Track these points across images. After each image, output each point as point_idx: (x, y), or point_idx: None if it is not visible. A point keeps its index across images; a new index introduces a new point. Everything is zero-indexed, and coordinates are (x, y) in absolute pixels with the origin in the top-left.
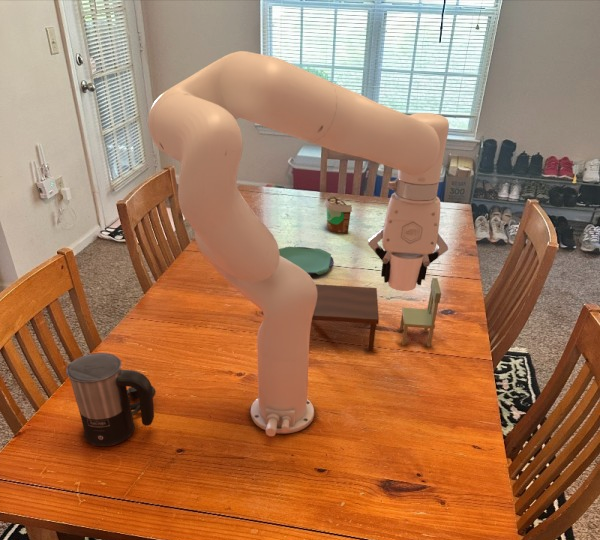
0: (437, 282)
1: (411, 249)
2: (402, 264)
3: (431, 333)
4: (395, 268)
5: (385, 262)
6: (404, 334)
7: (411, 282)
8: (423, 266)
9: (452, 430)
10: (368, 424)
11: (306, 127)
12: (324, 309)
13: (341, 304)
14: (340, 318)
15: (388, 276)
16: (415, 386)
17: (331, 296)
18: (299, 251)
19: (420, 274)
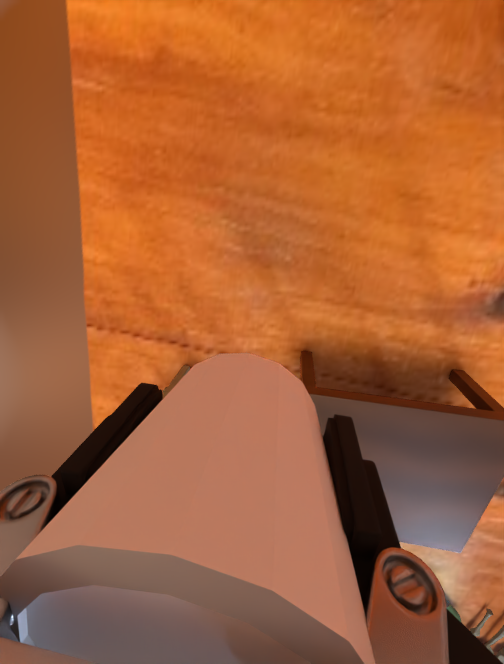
0: None
1: None
2: (246, 494)
3: (175, 381)
4: (307, 475)
5: (393, 561)
6: None
7: (190, 381)
8: (65, 479)
9: (162, 37)
10: (368, 39)
11: None
12: (443, 443)
13: (386, 462)
14: (404, 404)
15: (335, 443)
16: (228, 225)
17: (403, 497)
18: None
19: (117, 427)
